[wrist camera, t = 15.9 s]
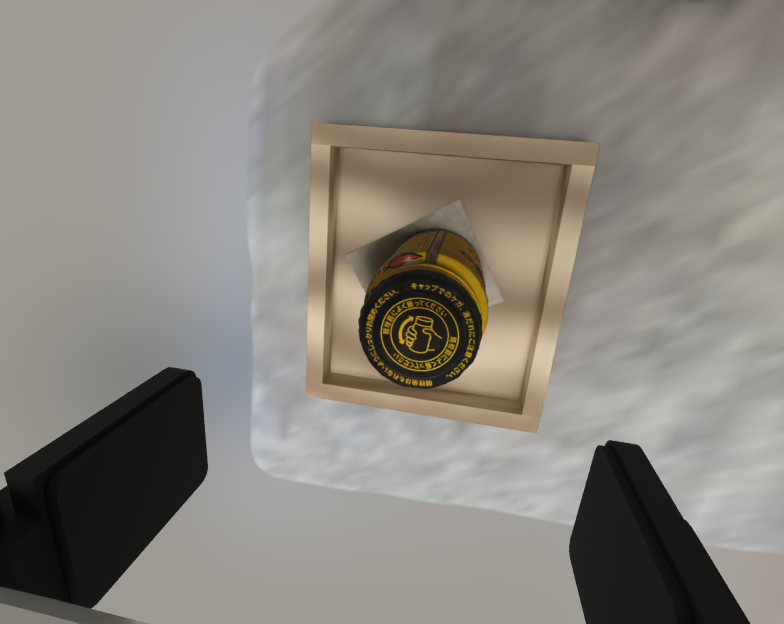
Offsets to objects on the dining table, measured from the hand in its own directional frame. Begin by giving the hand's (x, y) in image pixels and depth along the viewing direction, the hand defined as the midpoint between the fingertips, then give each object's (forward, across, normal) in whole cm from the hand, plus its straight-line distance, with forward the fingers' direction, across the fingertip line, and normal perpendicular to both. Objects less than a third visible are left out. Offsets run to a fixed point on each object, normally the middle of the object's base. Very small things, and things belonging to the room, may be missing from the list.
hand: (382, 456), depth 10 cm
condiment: (+20, +1, +1) cm, 20 cm away
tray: (+21, 0, +1) cm, 21 cm away
